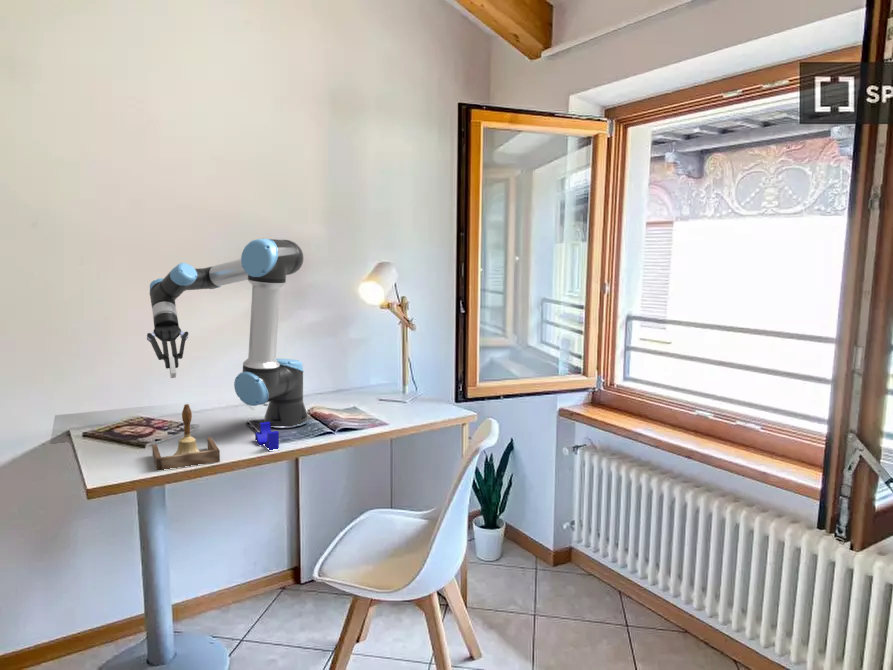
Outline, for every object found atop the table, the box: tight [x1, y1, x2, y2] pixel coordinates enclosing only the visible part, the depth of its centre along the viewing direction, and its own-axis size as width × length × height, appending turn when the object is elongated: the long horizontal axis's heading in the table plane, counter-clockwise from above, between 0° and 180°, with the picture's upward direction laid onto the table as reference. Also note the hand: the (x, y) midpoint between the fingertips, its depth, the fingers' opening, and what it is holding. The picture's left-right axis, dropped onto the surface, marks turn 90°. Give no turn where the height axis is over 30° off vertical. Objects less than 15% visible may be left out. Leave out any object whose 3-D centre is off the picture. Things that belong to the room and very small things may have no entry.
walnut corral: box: [151, 436, 221, 471], centre depth 171 cm, size 16×13×4 cm
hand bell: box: [173, 403, 201, 455], centre depth 172 cm, size 8×8×16 cm
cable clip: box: [254, 422, 280, 450], centre depth 185 cm, size 12×4×6 cm, turn 30°
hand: (173, 375), depth 190 cm, fingers closed
